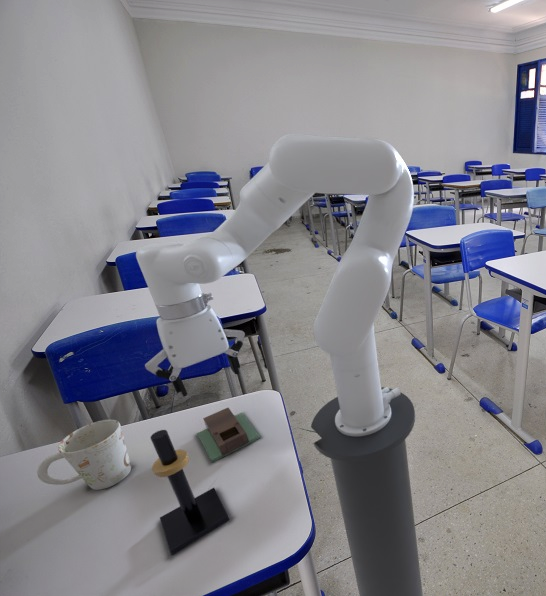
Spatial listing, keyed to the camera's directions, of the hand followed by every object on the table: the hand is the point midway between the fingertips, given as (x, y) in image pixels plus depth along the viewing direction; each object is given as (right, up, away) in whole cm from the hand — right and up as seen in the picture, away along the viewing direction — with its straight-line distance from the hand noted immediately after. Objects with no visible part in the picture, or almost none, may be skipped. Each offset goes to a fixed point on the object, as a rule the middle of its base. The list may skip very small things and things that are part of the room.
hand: (210, 382), depth 78 cm
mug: (-16, -17, -8) cm, 25 cm away
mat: (+3, -12, +2) cm, 12 cm away
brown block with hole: (+3, -11, +1) cm, 12 cm away
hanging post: (+8, -19, -16) cm, 26 cm away
